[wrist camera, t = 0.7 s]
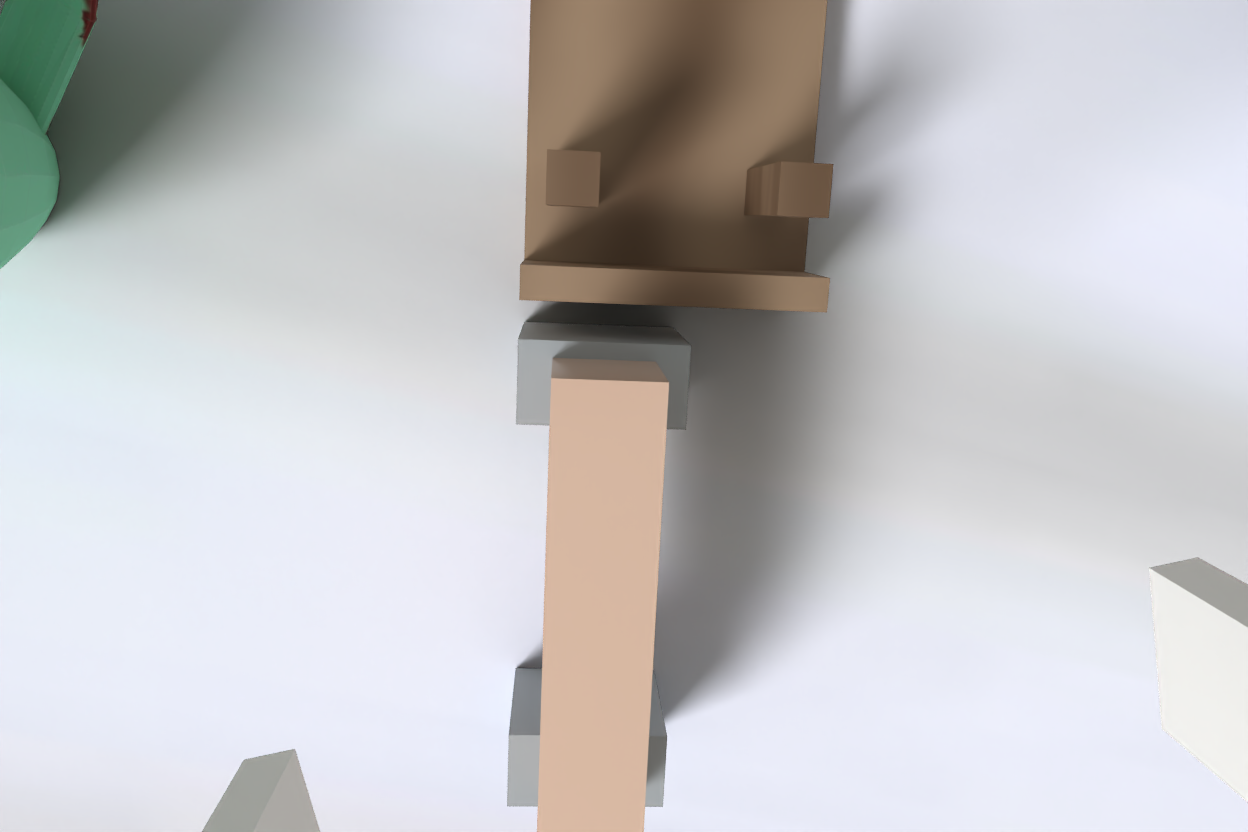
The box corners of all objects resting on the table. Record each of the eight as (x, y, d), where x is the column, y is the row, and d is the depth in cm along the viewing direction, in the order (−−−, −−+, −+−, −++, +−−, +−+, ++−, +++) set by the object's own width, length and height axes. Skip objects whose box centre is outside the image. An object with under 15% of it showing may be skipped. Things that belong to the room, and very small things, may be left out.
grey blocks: (514, 731, 35) (507, 806, 30) (524, 322, 32) (517, 339, 27) (650, 732, 35) (662, 806, 31) (673, 327, 32) (691, 345, 28)
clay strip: (539, 792, 30) (535, 866, 27) (552, 357, 27) (551, 378, 24) (632, 792, 30) (641, 865, 27) (655, 361, 28) (669, 382, 24)
